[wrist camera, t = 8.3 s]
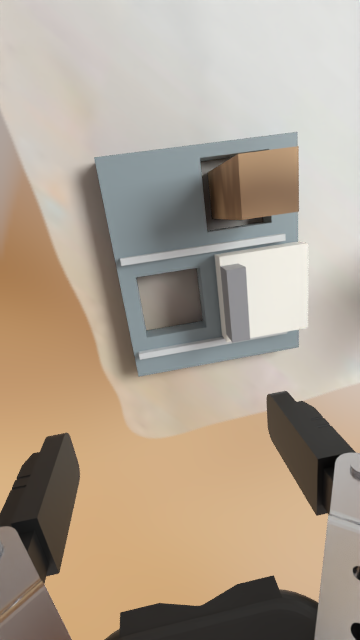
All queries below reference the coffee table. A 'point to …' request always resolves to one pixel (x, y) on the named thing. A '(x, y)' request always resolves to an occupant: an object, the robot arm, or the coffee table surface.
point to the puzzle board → (182, 246)
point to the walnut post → (255, 185)
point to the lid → (263, 290)
